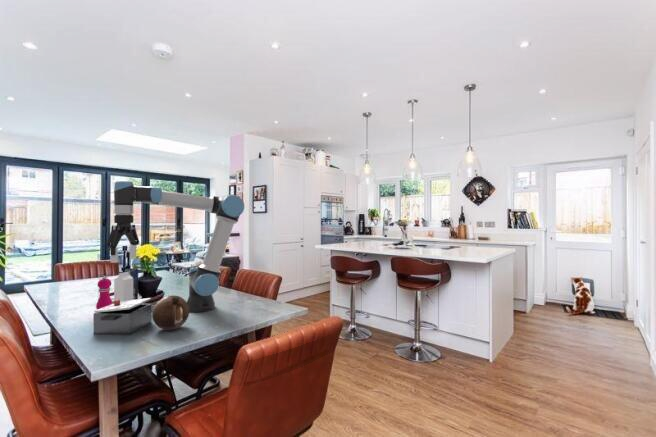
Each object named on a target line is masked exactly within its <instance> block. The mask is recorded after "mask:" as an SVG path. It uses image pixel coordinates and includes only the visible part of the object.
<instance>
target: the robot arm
mask: <svg viewBox="0 0 656 437" xmlns="http://www.w3.org/2000/svg"><path fill="white" fill-rule="evenodd" d="M134 203H143V204H151V205H160V206H167V207H174V208H175V207H176V208H181V209H183V208H184V209H192V210H200V211H206V212H208V213H209V214H215V218H216V219H217V221H216V223H215V226H214V230H213V232H212V235H211V238H210V242H209V244H208V247H207V251H206V253H205V256H204V259H203V260H202V261H203V262H202V263H201V264H200V265H198V266H196V267H190V268H189V270H188V277H189V278H188V285H189V286H188V297H187V301H186V302H187V304H188V306H189V313H199V312H200V313H201V312H207V311H211V310H214V309H215V308H216V303H215V300H214V296H213V294H215V293H216V292H217V291H218V288H219V287H220V280H219V279H220V276H221V273H222V271H221V269H220V266H221V264H222V261H223V257H224V254H225V252H226V249H227V245H228V242H229V240H230V238H231V233H232V230H233V227H234V225H235V224H237V223H238V222H239V219H240V216H241V215H242V214H243V213H244V211H245V202H244V200H243V199H242V198H241V197H240V196H238V195H236V194H227V195H223V196H222V195H221V196H215V195H211V196H210V197H209V196H202V195H195V194H188V193H182V192H173V191H166V190H163V189H162V187H160V186H144V185H141V186H140V185H139V186H138V185H134V182H133V181H129V180H117V181H115V182H114V188H113V205H114V216H113V217H114V218H113V219H114V220H113V222H114V223H115V225H113V224H112V225H111V230H110V233H109V236H108V239H107V243H106V247H107V248H108V249H110V253H109V254H110V263H119V248H118V247H117V246H118V245H119V243H120V241H121V239H122V237H124V236H126V238H127V241H128V242H129V259H131V260H132V259H134V260H135V259H137V246H138V245H139V244H140V240H139V235H138V233H137V230H136V224H133V223H134V215H133V214H134Z"/></svg>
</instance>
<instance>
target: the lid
mask: <svg viewBox="0 0 656 437" xmlns="http://www.w3.org/2000/svg"><path fill="white" fill-rule="evenodd" d="M152 299H153V298H152V297H146V298H137V299H133V300H125V301H120V300H115V301H114V300H113V304H111V305H108V306H106V307H103V308H101V309H98V310H97V309H95V310H94V311H93V312H94V313H97V312H107V311H117V310H127V309H131V308H134V307H136V306H138V305H140V304H146V303H147V302H149V301H152Z"/></svg>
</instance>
